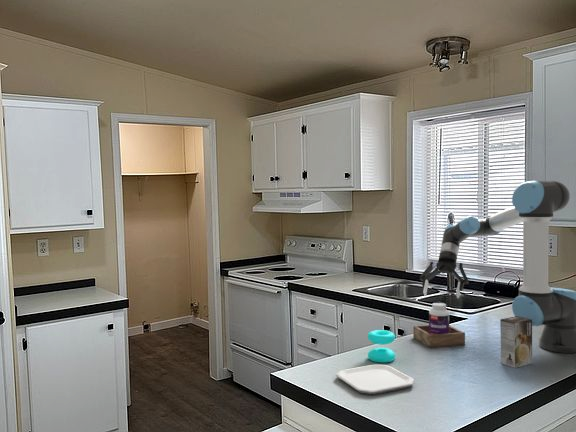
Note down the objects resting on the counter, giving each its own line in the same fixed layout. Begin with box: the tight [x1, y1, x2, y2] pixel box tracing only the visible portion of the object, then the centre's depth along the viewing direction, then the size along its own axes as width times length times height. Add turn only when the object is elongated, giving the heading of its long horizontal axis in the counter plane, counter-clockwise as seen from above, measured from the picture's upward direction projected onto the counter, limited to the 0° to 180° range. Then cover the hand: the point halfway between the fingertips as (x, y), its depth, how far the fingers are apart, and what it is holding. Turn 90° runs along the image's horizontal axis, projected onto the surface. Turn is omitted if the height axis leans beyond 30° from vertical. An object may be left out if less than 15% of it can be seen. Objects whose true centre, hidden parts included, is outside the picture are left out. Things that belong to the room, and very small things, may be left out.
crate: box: [412, 324, 466, 349], centre depth 214 cm, size 15×15×5 cm
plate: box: [335, 363, 415, 395], centre depth 170 cm, size 21×21×2 cm
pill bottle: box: [428, 302, 450, 335], centre depth 214 cm, size 8×8×14 cm
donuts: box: [367, 329, 396, 364], centre depth 193 cm, size 10×10×10 cm
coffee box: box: [500, 316, 533, 369], centre depth 185 cm, size 9×6×16 cm
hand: (440, 295), depth 219 cm, fingers open, 13 cm apart
